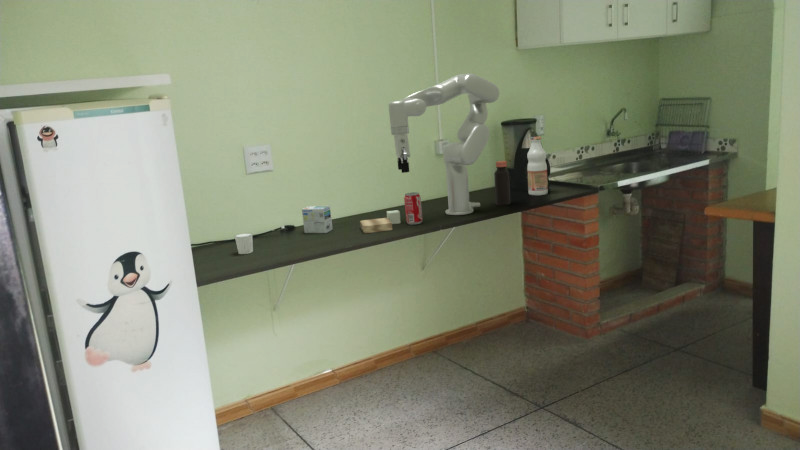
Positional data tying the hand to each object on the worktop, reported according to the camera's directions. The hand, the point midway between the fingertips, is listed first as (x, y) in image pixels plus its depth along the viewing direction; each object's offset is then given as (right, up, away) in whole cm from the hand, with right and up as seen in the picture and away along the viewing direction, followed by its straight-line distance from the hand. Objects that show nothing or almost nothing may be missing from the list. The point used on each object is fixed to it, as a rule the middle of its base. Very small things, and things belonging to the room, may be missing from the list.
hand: (403, 170), depth 291 cm
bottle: (+47, -14, +29) cm, 56 cm away
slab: (-12, -25, -1) cm, 27 cm away
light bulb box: (-37, -26, +3) cm, 45 cm away
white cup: (-62, -34, -22) cm, 74 cm away
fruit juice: (+67, -8, +47) cm, 82 cm away
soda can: (+5, -23, +4) cm, 23 cm away
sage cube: (-4, -22, +9) cm, 24 cm away
